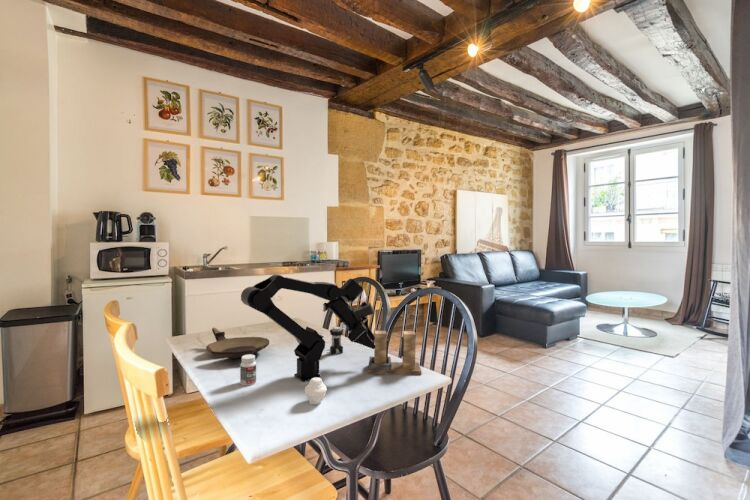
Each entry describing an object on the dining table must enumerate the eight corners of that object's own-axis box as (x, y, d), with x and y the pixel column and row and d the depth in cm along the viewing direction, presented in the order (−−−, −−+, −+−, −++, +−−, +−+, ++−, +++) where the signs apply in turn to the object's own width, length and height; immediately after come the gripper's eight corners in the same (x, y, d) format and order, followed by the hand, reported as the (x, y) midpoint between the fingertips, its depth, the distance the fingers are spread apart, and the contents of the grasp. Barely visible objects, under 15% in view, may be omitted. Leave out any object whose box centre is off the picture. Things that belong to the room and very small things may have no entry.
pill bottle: (248, 387, 108) (248, 360, 108) (236, 384, 110) (236, 357, 110) (259, 381, 112) (259, 355, 112) (248, 378, 114) (248, 353, 114)
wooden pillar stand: (368, 373, 120) (369, 335, 119) (368, 365, 128) (369, 329, 127) (421, 374, 120) (422, 336, 119) (418, 365, 128) (419, 329, 127)
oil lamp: (211, 371, 119) (211, 349, 119) (201, 347, 145) (201, 328, 144) (277, 360, 131) (277, 339, 131) (256, 339, 157) (257, 322, 156)
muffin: (327, 397, 102) (328, 373, 102) (325, 407, 96) (325, 382, 96) (306, 396, 102) (306, 373, 102) (302, 407, 96) (302, 381, 96)
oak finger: (374, 368, 122) (374, 333, 121) (374, 364, 126) (374, 330, 125) (387, 368, 122) (388, 334, 121) (387, 364, 126) (387, 330, 125)
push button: (328, 356, 136) (329, 330, 136) (324, 352, 141) (324, 327, 141) (344, 354, 139) (345, 328, 139) (340, 349, 144) (340, 325, 144)
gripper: (359, 300, 113) (392, 335, 114) (361, 291, 132) (390, 321, 132) (334, 324, 114) (367, 359, 114) (340, 311, 132) (369, 341, 133)
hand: (374, 343), depth 123 cm, fingers open, 9 cm apart
